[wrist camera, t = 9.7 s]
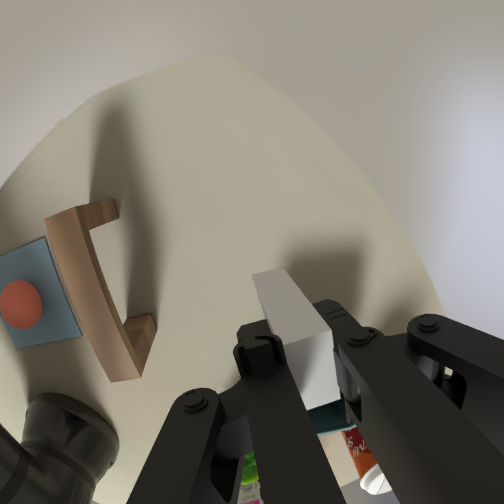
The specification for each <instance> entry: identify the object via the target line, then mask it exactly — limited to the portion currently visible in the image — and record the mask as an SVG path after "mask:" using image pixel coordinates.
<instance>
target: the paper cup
mask: <svg viewBox="0 0 504 504" xmlns="http://www.w3.org/2000/svg"><path fill="white" fill-rule="evenodd" d="M341 432H342V435H343V437H344V440H345V442H346V445H347V447H348V449H349V452H350V454H351V457H352V459H353V462H354V464H355V466H356V469H357V471H358V474H359V476H360V479H361V482H360V485H361V487H362V488H363V489H365V490H367V491H368V493H370V494H381V493H385V492H388V491H390V490H392V488H391V487H390V485H389V483H388V481H387V480H386V478H385V476H384V474H383V472H382V471H381V469H380V467H379V465H378V464H377V462H376V460H375V458H374V457H373V455H372V453H371V451H370V450H369V448H368V446H367V444H366V443H365V441H364V439H363V437H362V436H361V434H360V432H359V430H358V428H357V427H355V428H352V429H349V430H344V431H341Z"/></svg>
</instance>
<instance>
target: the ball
mask: <svg viewBox="0 0 504 504" xmlns="http://www.w3.org/2000/svg"><path fill="white" fill-rule="evenodd" d="M0 310H1V313H2V315H3V317H4V319H5V320H6V322H7V323H8V324H10V325H11V326H13V327H14V328H17V329H27V328H30V327H32V326H33V325H35V324H36V323H37V321H38V320H39V318H40V316H41V312H42V300H41V297H40V294H39V292H38V291H37V289H36V288H35V287H34V286H33V285H32V284H30V283H29V282H26V281H23V280H16V281H13V282H11V283H9V284H8V285H7V286H6V287H5V288H4V289H3V291H2V293H1V296H0Z"/></svg>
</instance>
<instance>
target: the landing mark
mask: <svg viewBox="0 0 504 504" xmlns="http://www.w3.org/2000/svg"><path fill="white" fill-rule="evenodd" d="M16 280H23V281H26V282H29V283H30V284H32V285H33V286H34V287H35V288H36V289H37V291H38V292H39V294H40V297H41V300H42V312H41V316H40V318H39V320H38V321H37V323H36V324H35V325H33V326H32V327H30V328H27V329H17V328H14V327H13V326H11V325H10V324H8V323H7V322H6V320H5V319H4V317H3V315H2V313H1V310H0V314H1V316H2V318H3V321H4V323H5V325H6V327H7V329H8V332H9V334H10V336H11V338H12V340H13V342H14V344H15V346H16V348H17V349H18V348H23V347H29V346H34V345H39V344H45V343H50V342H55V341H60V340H65V339H70V338H74V337H79V336H82V333H81V331H80V329H79V327H78V324H77V322H76V320H75V318H74V315H73V313H72V311H71V308H70V306H69V303H68V301H67V298H66V296H65V293H64V291H63V288H62V286H61V283H60V280H59V278H58V275H57V272H56V269H55V266H54V263H53V260H52V257H51V254H50V251H49V248H48V245H47V242H46V238H42V239H40V240H37V241H35V242H32V243H30V244H27V245H25V246H23V247H20V248H18V249H16V250H13V251H11V252H9V253H6V254H4V255H2V256H0V296H1V293H2V291H3V289H4V288H5V287H6V286H7V285H8V284H9V283H11V282H13V281H16Z"/></svg>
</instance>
